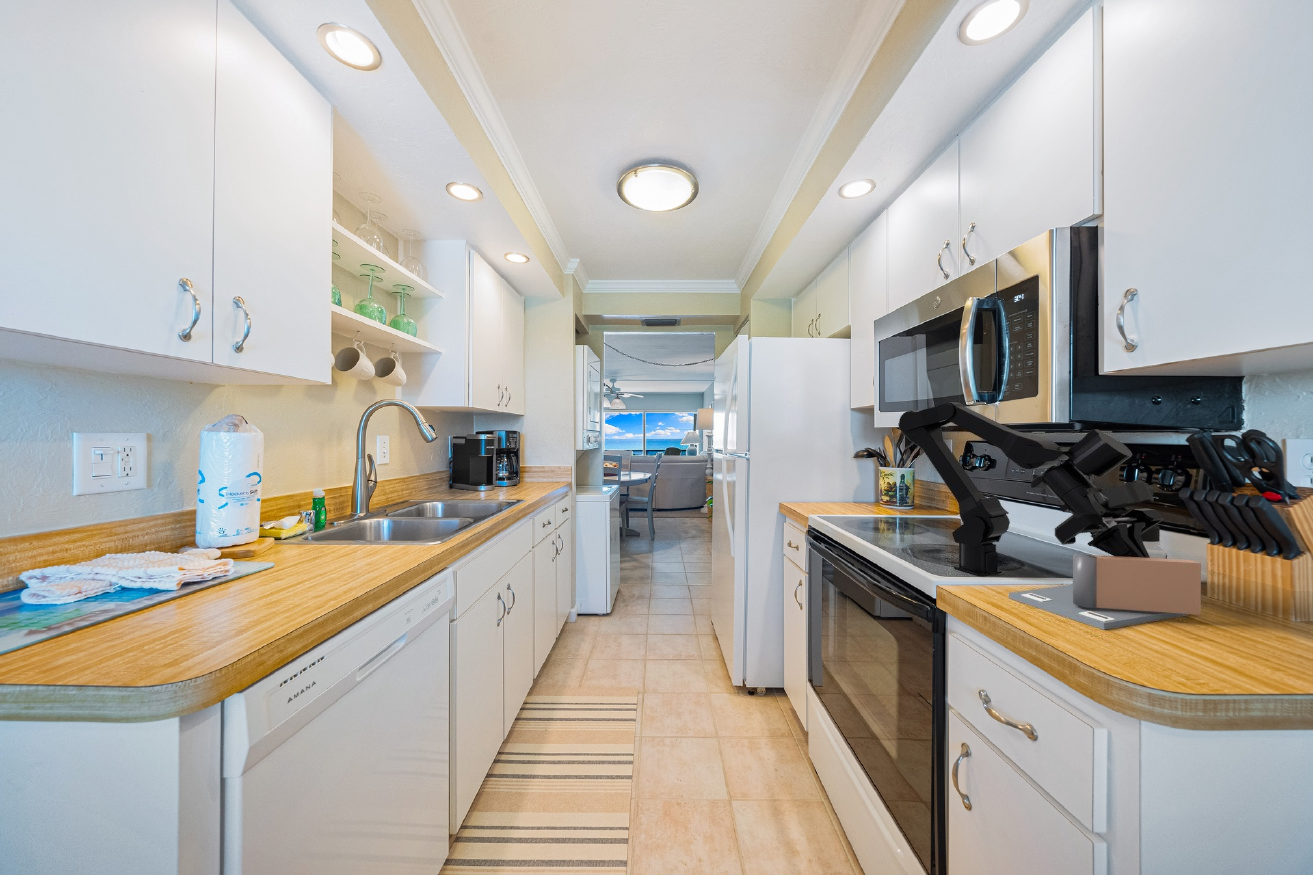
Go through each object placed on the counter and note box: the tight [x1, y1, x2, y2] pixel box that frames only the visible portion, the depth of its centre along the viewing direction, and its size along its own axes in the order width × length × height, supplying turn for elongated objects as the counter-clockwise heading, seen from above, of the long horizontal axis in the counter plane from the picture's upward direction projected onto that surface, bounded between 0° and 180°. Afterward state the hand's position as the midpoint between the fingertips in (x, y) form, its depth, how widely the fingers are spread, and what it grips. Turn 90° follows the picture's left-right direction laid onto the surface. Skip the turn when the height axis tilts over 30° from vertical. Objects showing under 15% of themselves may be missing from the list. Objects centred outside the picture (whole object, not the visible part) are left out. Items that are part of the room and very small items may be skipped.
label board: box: [1008, 583, 1190, 631], centre depth 85 cm, size 15×20×1 cm
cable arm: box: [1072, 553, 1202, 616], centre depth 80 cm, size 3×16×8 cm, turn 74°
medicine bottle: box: [1110, 524, 1168, 559], centre depth 98 cm, size 7×7×12 cm
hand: (1150, 569), depth 81 cm, fingers closed
